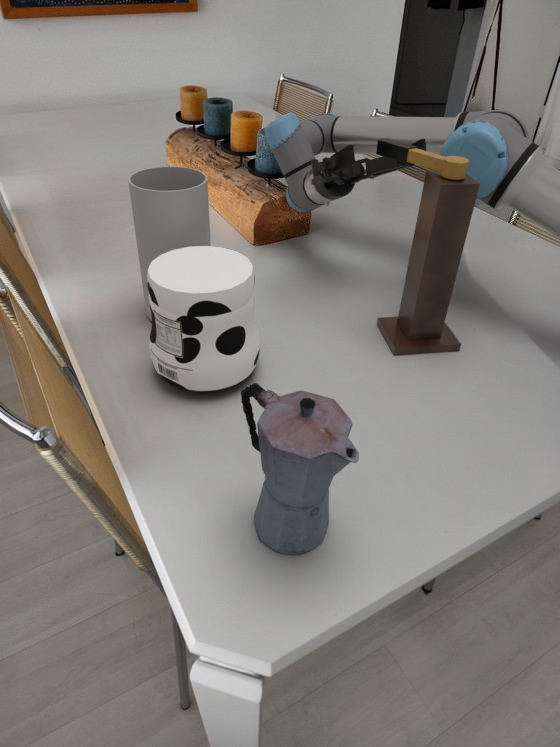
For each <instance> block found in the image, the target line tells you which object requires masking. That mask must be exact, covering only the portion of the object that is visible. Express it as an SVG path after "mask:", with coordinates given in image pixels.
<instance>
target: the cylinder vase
mask: <svg viewBox="0 0 560 747" xmlns="http://www.w3.org/2000/svg"><path fill="white" fill-rule="evenodd" d="M127 182H128V190H129V197H130V205H131V211H132V218H133V225H134V234H135V240H136V248H137V256H138V262H139V271H140V277H141V285H142V292H143V299H144V306H145V313H146V315H147V316H146V317H147V318H148V319H149V320H150V321H151V322H152V316H151V310H150V304H149V291H148V285H147V272H148V268H149V266H150V264H151V262H152V261H153V260H155V259H156V258H157V257H158V256H160V255H162V254H164V253H167V252H169V251H172V250H175V249H180V248H185V247H191V246H212V245H211V244H212V243H211V225H210V224H211V220H210V203H209V202H210V201H209V182H208V175H207V174H206V173H205V172H203V171H201V170H199V169H195V168H191V167H186V166H178V165H177V166H175V165H170V166H169V165H167V166H165V165H164V166H154V167H148V168H144V169H141V170H140V169H139V170H137V171H135V172H133V173H131V174H130V175H129V176H128V178H127Z"/></svg>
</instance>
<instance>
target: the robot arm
mask: <svg viewBox="0 0 560 747" xmlns="http://www.w3.org/2000/svg"><path fill="white" fill-rule="evenodd" d="M263 132H264V135H265V137H266V140H267V142H268V145H269V149H270V150H271V153H272V154H273V156H274V158H275V161H276V162H277V165H278V166H279V169H280V171H281V173H282V175H283V177H284V179H285V182H286V184H287V187H286V190H285V198H286V201H287V203H288V205H289V207H291V209H293V210H294V211H296V212H299V213H306V212H313V211H314V210H316V209H318V208H320V207H323V206H325V207H329V206H330V203H331V202H333V201H336V200H339V199H341V198H343V197H346V196H347V195H349V194H351V192H352V191H353V190H354V188H355V186H356V184H357V183H360V182H361V181H363V180H368V179H371V180H374V179H376V178H378V177H380V176H384V175H386V174H389V173H390V174H391V173H394V172H397V171H401V170H403V169H407V168H412V167H414V166H415V165H416V164H413V163H409V162H407V163H403V162H400V161H397V160H394V159H390V158H387V157H384V156H379V155H378V154H376V151H377V143H378V140H380V139H384V138H388V139H392V140H396V141H399V142H403V143H406V144H410V145H413V146H416V148H417V149H421V150H424V151H428V152H431V153H435V154H438V155H442V156H445V157H447V156H459V157H464V158H466V159H468V160H469V164H468V168H467V172H466V174H468V175H469V176H470V177H472V178H473V179H474V180H476V181H477V182H478V183H480V186H479V190H478V194H477V197H476V200H479V201H481V202H482V203H484V204H486V205H487V206H489V207H490V208H492V209H493V210H501V209H506V208H507V209H508V208H510V209H511V210H512V211H515V212H516V213H518V214H520V215H521V216H523V217H524V218H525V219H528V220H529V221H530V222H532V223H534V224H535V225H537V226H538V227H540V228H541V229H543V230H545V231H546V232H548V233H549V234H551V235H553V236H554V237H555V238H557V239H559V240H560V170H559V169H558V168H557V167H555V166H553V165H551V164H550V163H548V162H546V161H545V160H544V155H543V148H542V146H541V145H538V144H537V143H535V142H533V141H532V140H531V139H529V132H528V129H527V126H526V124H525V123H524V121H523V120H522V119H521V118H520V116H519V115H517V114H516V113H513V112H511V111H508V110H504V109H491V110H479V111H461V112H459V113H458V114H457V115H456V116H455V117H447V116H446V117H445V116H443V117H440V116H433V117H432V116H378V115H377V116H376V115H375V116H374V115H373V116H372V115H370V116H368V115H366V116H365V115H338V114H336V113H333V112H325V113H320V114H318V115H315V116H313V117H310V118H308V119H305V120H300V119H299V118H298V116H297V115H296V113H294V112H288V113H285V114H283V115H280V116H279V117H276V118H275V119H274V120H272V121H271V122H269V123H268V124H266V126H265V128H264V131H263ZM323 153H324V154H332V155H330V157H328V156H326V157H324V158H321V161H319V159H318V158H317V159H316V156H318V155H321V154H323ZM356 155H367V156H368V155H369V156H379V157H375V158H368V157H364V158H361V159H357V160H356ZM363 164H365V166H364V165H363Z"/></svg>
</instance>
